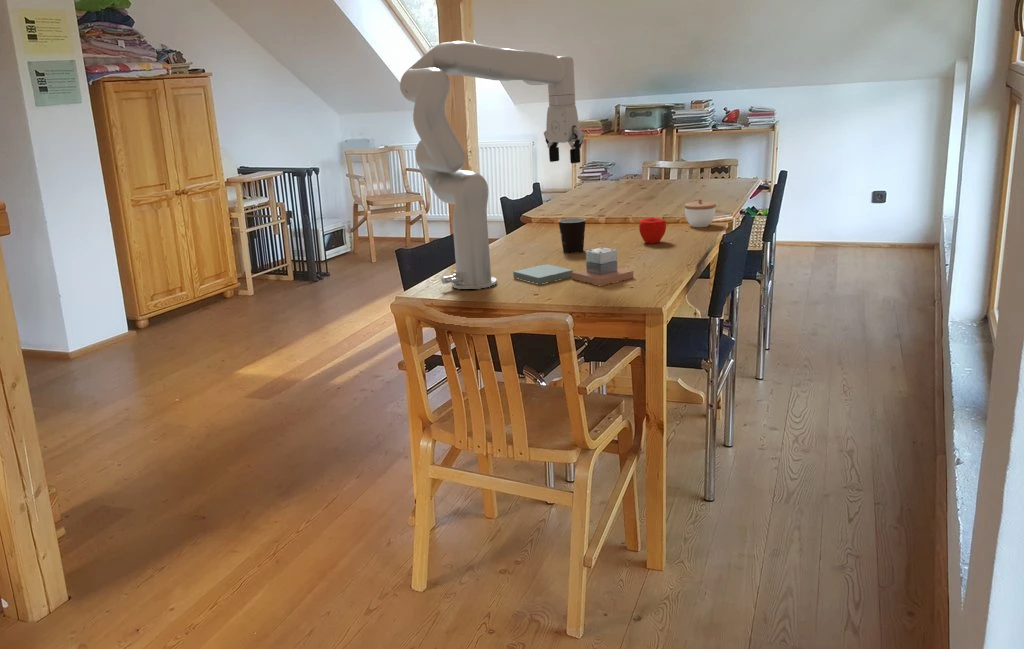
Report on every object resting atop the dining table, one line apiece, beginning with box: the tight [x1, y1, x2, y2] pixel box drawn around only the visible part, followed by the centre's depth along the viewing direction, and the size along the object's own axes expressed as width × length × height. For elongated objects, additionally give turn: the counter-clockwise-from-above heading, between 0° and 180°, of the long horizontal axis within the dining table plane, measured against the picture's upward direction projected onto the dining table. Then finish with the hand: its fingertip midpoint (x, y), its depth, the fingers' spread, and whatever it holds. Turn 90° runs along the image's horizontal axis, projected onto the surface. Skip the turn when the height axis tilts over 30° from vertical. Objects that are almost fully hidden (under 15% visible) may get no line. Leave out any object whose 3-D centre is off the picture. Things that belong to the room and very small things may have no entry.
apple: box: [638, 217, 667, 244], centre depth 281 cm, size 9×9×8 cm
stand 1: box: [512, 263, 574, 285], centre depth 244 cm, size 12×12×2 cm
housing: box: [585, 246, 618, 275], centre depth 237 cm, size 6×6×6 cm
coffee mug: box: [558, 217, 586, 254], centre depth 277 cm, size 12×9×10 cm
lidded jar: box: [684, 198, 717, 228], centre depth 304 cm, size 11×11×9 cm
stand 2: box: [571, 267, 634, 287], centre depth 238 cm, size 12×12×2 cm
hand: (564, 162), depth 250 cm, fingers open, 9 cm apart
